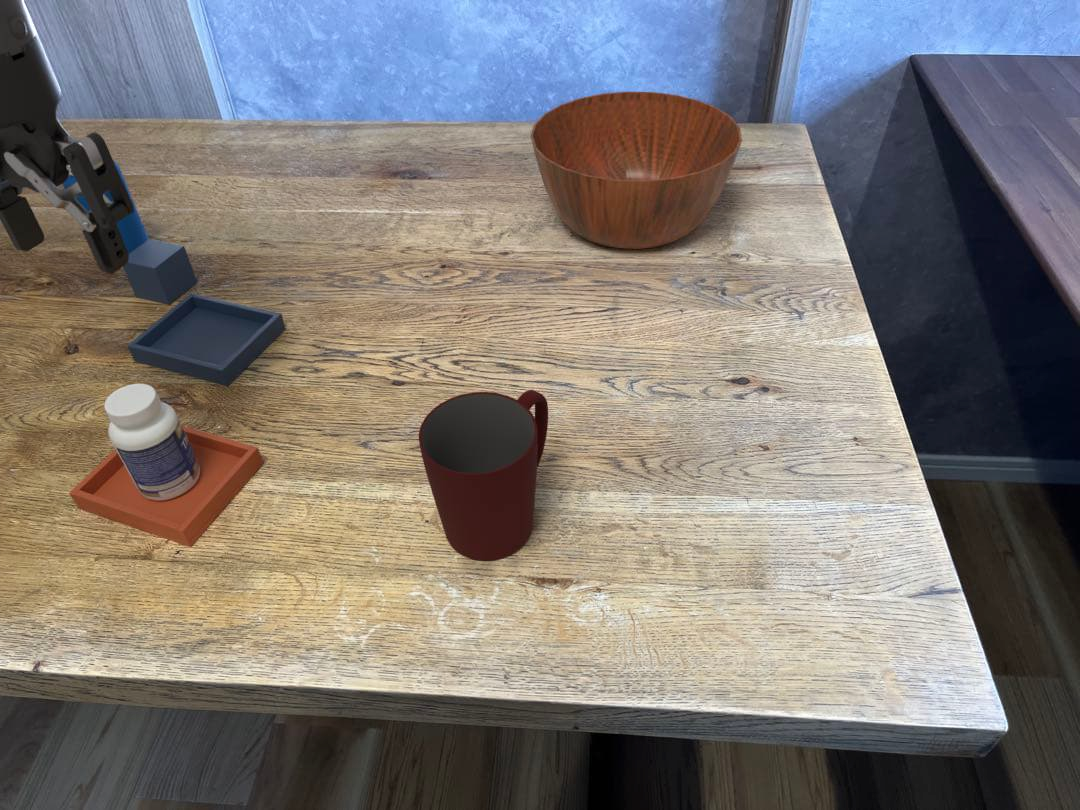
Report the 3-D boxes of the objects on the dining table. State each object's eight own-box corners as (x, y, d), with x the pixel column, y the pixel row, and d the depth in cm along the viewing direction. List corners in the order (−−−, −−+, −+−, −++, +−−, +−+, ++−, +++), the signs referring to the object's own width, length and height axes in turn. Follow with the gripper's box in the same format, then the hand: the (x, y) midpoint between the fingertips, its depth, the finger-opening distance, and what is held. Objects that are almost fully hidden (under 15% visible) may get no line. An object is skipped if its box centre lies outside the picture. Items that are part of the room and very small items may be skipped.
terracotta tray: (78, 508, 71) (68, 492, 70) (158, 432, 78) (150, 416, 77) (190, 547, 68) (182, 531, 66) (264, 463, 75) (257, 447, 73)
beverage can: (144, 233, 106) (108, 145, 98) (157, 254, 102) (120, 165, 94) (92, 249, 104) (51, 160, 96) (103, 271, 100) (61, 181, 92)
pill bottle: (213, 478, 73) (176, 397, 66) (156, 513, 70) (112, 431, 63) (184, 449, 75) (146, 368, 69) (128, 481, 73) (83, 400, 66)
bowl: (684, 292, 92) (694, 200, 85) (497, 240, 102) (490, 154, 94) (757, 196, 108) (770, 111, 100) (589, 159, 118) (589, 79, 110)
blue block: (135, 297, 95) (119, 260, 92) (164, 274, 99) (150, 238, 95) (169, 305, 94) (154, 268, 91) (198, 282, 97) (184, 245, 94)
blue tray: (134, 361, 86) (126, 345, 85) (196, 307, 93) (190, 292, 92) (228, 386, 83) (222, 370, 81) (286, 328, 90) (281, 313, 88)
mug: (508, 451, 75) (500, 357, 67) (585, 496, 70) (586, 401, 63) (414, 532, 68) (393, 438, 61) (493, 587, 64) (481, 493, 56)
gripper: (-163, 43, 51) (-35, 263, 62) (3, 72, 47) (108, 303, 58) (-58, 7, 56) (43, 217, 67) (100, 30, 52) (180, 250, 63)
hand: (73, 256), depth 63 cm, fingers open, 8 cm apart
